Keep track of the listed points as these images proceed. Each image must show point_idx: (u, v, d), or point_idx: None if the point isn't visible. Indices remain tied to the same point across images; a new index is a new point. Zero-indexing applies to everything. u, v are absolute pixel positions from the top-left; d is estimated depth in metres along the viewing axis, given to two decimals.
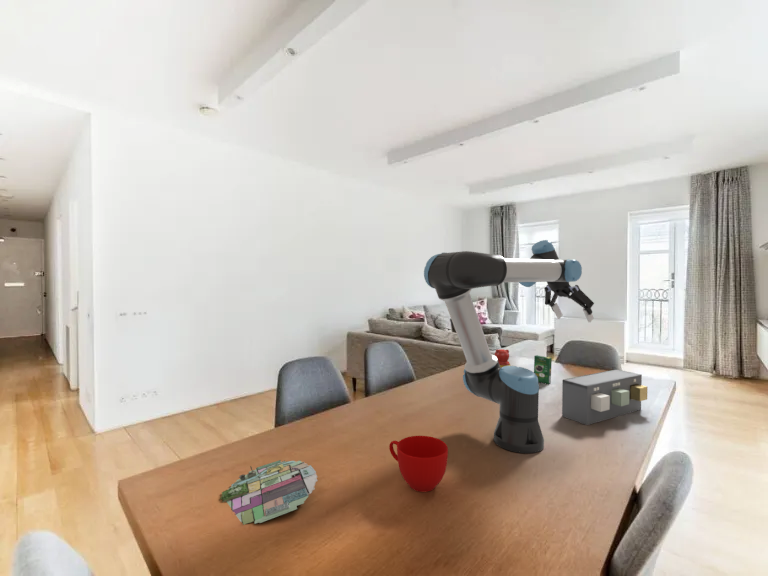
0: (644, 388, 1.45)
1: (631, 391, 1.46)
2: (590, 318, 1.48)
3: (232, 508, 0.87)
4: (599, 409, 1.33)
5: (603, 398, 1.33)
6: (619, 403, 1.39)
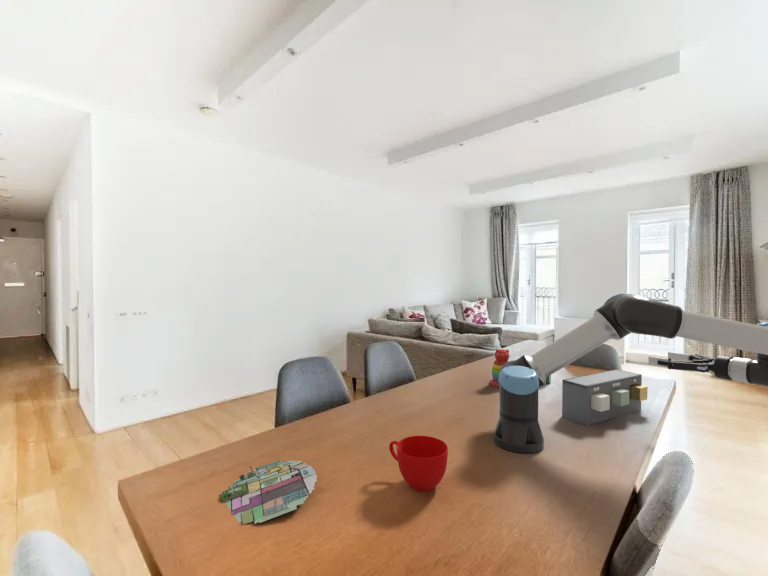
0: (644, 388, 1.45)
1: (631, 391, 1.46)
2: (652, 359, 1.35)
3: (232, 508, 0.87)
4: (599, 409, 1.33)
5: (603, 398, 1.33)
6: (619, 403, 1.39)
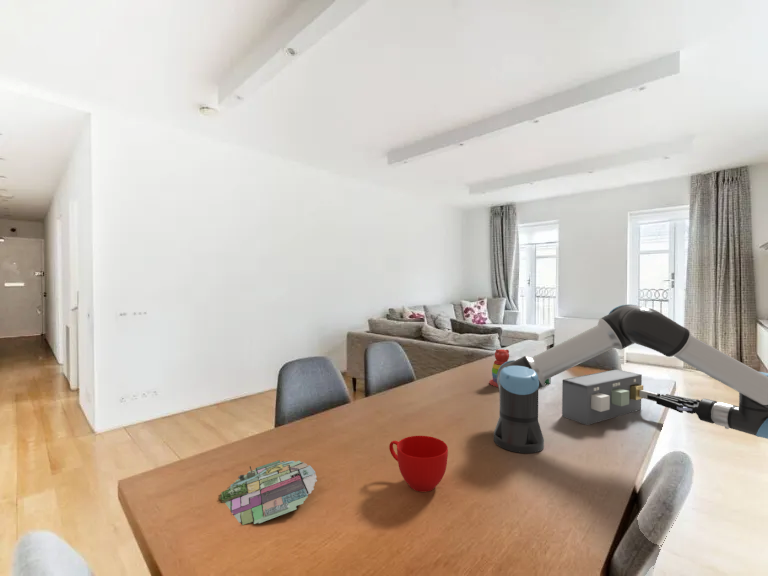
0: (640, 387, 1.46)
1: None
2: (642, 393, 1.45)
3: (231, 508, 0.86)
4: (599, 409, 1.33)
5: (603, 398, 1.33)
6: (619, 403, 1.39)
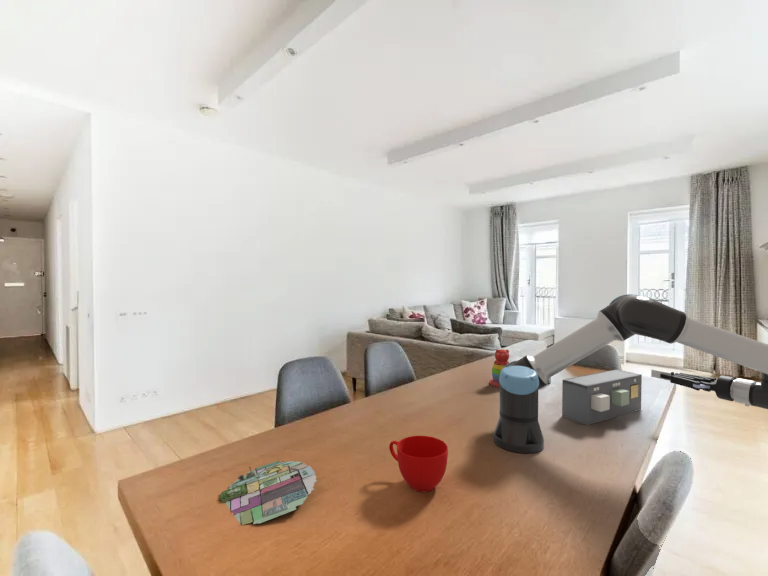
0: (635, 386, 1.48)
1: None
2: (654, 372, 1.37)
3: (231, 509, 0.86)
4: (599, 409, 1.33)
5: (603, 398, 1.33)
6: (619, 403, 1.39)
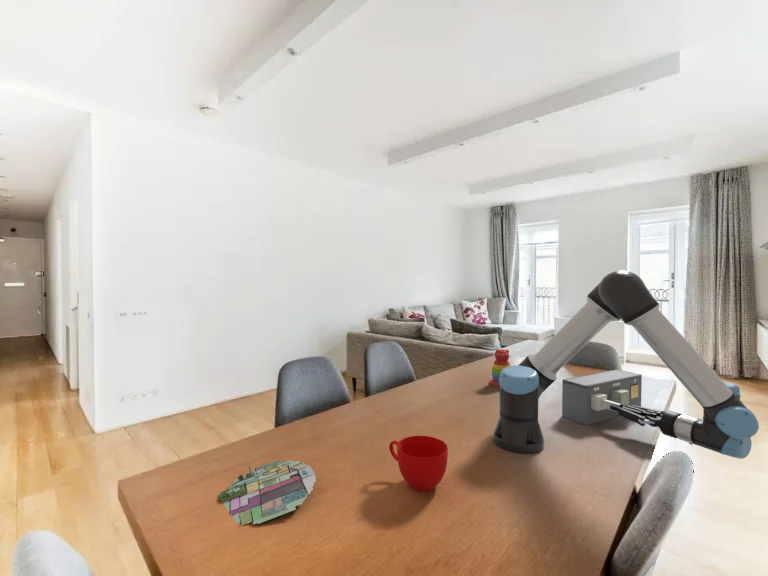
0: (635, 386, 1.48)
1: None
2: (605, 403, 1.33)
3: (230, 509, 0.86)
4: (596, 408, 1.34)
5: (601, 398, 1.34)
6: (619, 403, 1.39)
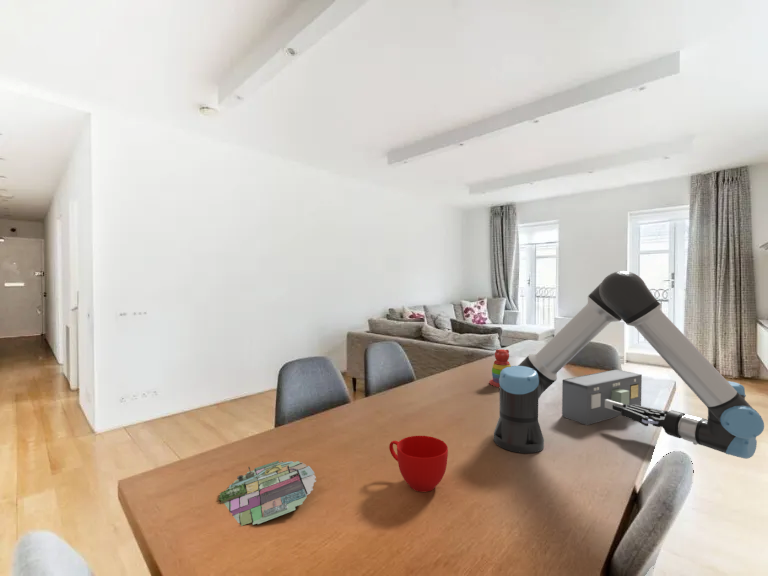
0: (635, 386, 1.48)
1: None
2: (608, 403, 1.32)
3: (230, 509, 0.86)
4: None
5: (594, 396, 1.36)
6: None
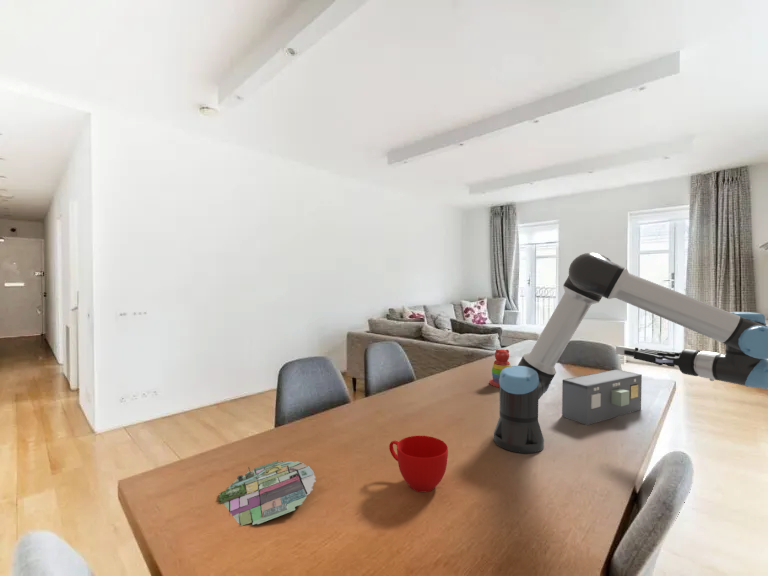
0: (635, 386, 1.48)
1: None
2: (619, 349, 1.28)
3: (230, 509, 0.86)
4: None
5: (594, 396, 1.36)
6: (619, 403, 1.39)
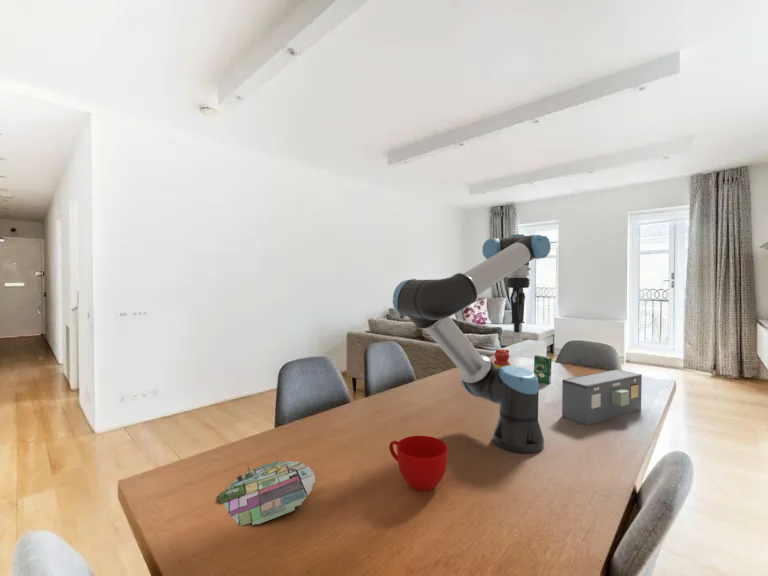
0: (635, 386, 1.48)
1: None
2: (516, 337, 1.39)
3: (229, 509, 0.86)
4: None
5: (594, 396, 1.36)
6: (619, 403, 1.39)
